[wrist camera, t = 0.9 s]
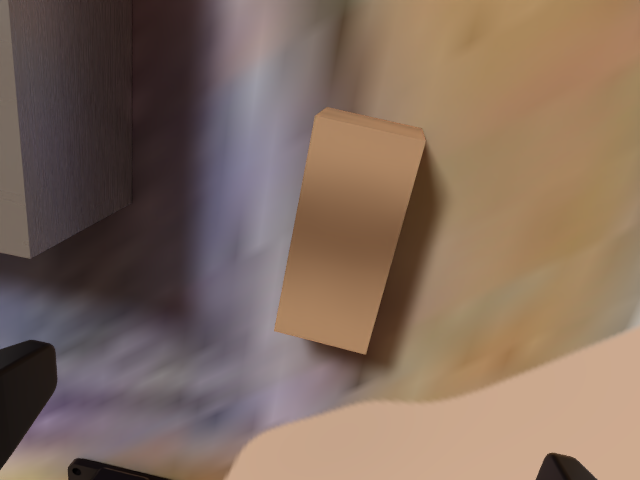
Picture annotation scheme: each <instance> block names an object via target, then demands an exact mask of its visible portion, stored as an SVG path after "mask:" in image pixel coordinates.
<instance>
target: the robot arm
mask: <svg viewBox="0 0 640 480" xmlns="http://www.w3.org/2000/svg"><path fill="white" fill-rule="evenodd" d="M56 385H57V366H56V352H55V348H54V346H53V345H51V344H50V343H46V342H41V341H36V340H28V341H25V342H22V343H19V344H16V345H12V346H9V347H6V348H3V349H0V470H1V468H2V467H3V466H4V464H5V463H6V462H7V460H8V459H9V457H10V456H11V455H12V453H13V452H14V450H15V449H16V447H17V446H18V444H19V443H20V441H21V440H22V439H23V437H24V436H25V434H26V433H27V431H28V430H29V428H30V427H31V425H32V424H33V422H34V421H35V419H36V418H37V416H38V415H39V414H40V412H41V411H42V409H43V408H44V406H45V405H46V403H47V402H48V400H49V399H50V397H51V396H52V394H53V393H54V391H55V388H56ZM68 480H168V479H163V478H159V477H155V476H151V475H147V474H143V473H139V472H134V471H130V470H126V469H122V468H118V467H114V466H110V465H105V464H101V463H97V462H93V461H89V460H85V459H80V458H77V459H74V461H73V462H72V463H71V464H70V465H69V467H68ZM536 480H597V479H596V478H595V477H594V476H593V475H592V474H591V473H590V472H589V471H588V470H587V469H586V468H585V467H584V466H583V465H582V464H581V463H580V462H579V461H577V460H576V459H575V458H573V457H570V456H566V455H561V454H557V453H549V454H547V456H546V457H545V459H544V461H543V464H542V466H541V468H540V470H539V473H538V475H537V478H536Z"/></svg>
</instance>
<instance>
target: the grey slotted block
mask: <svg viewBox="0 0 640 480" xmlns="http://www.w3.org/2000/svg"><path fill="white" fill-rule="evenodd" d="M131 203H132V0H0V253H5V254H10V255H14V256H19V257H24V258H29V259H31V258H33V257H35V256H36V255H38V254H40V253H42V252H44V251H45V250H47V249H49V248H51V247H53V246H55V245H56V244H58V243H60V242H62V241H64V240H65V239H67V238H69V237H71V236H73V235H74V234H76V233H78V232H80V231H82V230H84V229H85V228H87V227H89V226H91V225H93V224H94V223H96V222H98V221H100V220H102V219H104V218H105V217H107V216H109V215H111V214H113V213H114V212H116V211H118V210H120V209H122V208H123V207H125V206H127V205H129V204H131Z"/></svg>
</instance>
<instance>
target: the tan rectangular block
mask: <svg viewBox="0 0 640 480" xmlns="http://www.w3.org/2000/svg"><path fill="white" fill-rule="evenodd" d="M425 143H426V139H425V136H424V133H423V130H422V128H418V127H413V126H409V125H404V124H400V123H396V122H391V121H387V120H382V119H378V118H373V117H369V116H364V115H360V114H355V113H351V112H347V111H342V110H338V109H333V108H329V107H327V108H325V109H324V110H322V111H321V112H320V113H318V114H317V115H315V119H314V124H313V129H312V135H311V140H310V145H309V150H308V156H307V161H306V166H305V171H304V177H303V182H302V187H301V192H300V198H299V203H298V208H297V213H296V219H295V224H294V229H293V234H292V239H291V245H290V250H289V255H288V260H287V266H286V271H285V276H284V281H283V287H282V292H281V297H280V302H279V308H278V313H277V318H276V323H275V329H274V331H276V332H280V333H284V334H288V335H292V336H295V337H299V338H303V339H307V340H311V341H315V342H319V343H323V344H326V345H330V346H334V347H338V348H342V349H346V350H350V351H354V352H357V353H361V354H365V355H366V352H367V348H368V345H369V341H370V338H371V334H372V330H373V327H374V323H375V320H376V316H377V313H378V309H379V306H380V302H381V299H382V295H383V292H384V288H385V284H386V281H387V277H388V274H389V270H390V267H391V263H392V260H393V256H394V253H395V249H396V245H397V242H398V238H399V235H400V231H401V228H402V224H403V221H404V217H405V214H406V210H407V206H408V203H409V199H410V196H411V192H412V189H413V185H414V182H415V178H416V175H417V171H418V167H419V164H420V160H421V157H422V153H423V150H424V146H425Z"/></svg>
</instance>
